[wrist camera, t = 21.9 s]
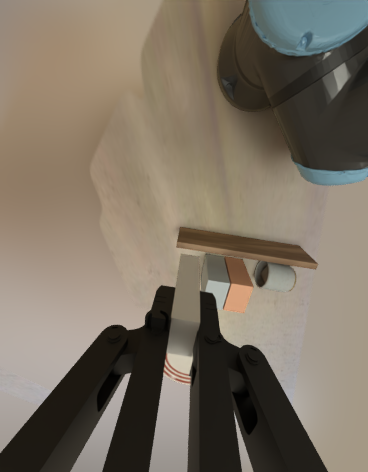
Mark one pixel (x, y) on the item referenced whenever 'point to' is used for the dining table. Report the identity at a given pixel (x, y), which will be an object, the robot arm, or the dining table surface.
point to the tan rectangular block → (237, 285)
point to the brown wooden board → (244, 248)
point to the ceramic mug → (275, 276)
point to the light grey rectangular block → (215, 278)
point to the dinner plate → (178, 368)
